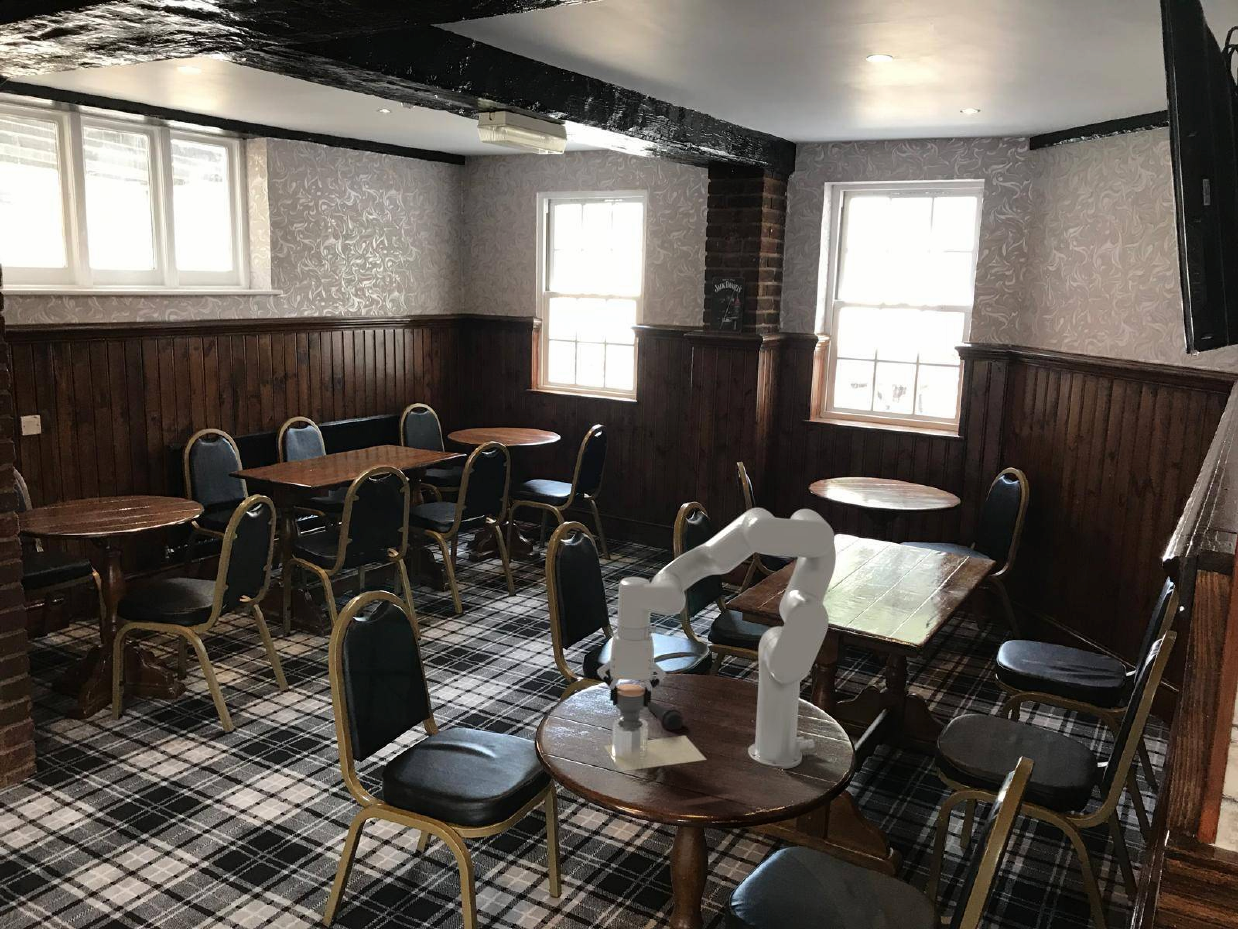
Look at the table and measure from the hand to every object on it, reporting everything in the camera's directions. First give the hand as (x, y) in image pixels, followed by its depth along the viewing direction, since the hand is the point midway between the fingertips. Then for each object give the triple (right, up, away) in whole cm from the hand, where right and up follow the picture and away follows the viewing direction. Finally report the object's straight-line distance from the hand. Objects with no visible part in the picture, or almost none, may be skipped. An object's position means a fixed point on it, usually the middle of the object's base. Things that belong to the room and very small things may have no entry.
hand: (630, 703), depth 231 cm
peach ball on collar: (0, -3, +1) cm, 4 cm away
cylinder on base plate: (+6, -13, +2) cm, 14 cm away
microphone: (+9, -10, +23) cm, 27 cm away
